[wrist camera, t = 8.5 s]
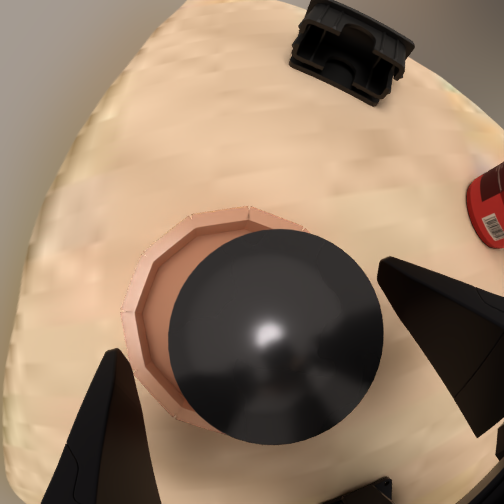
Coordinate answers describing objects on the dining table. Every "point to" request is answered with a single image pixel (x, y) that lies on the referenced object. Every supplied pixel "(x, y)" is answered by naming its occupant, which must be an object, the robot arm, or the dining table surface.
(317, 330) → the pepper mill
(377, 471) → the dining table surface
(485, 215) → the canned food
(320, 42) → the end cap
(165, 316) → the terracotta dish
